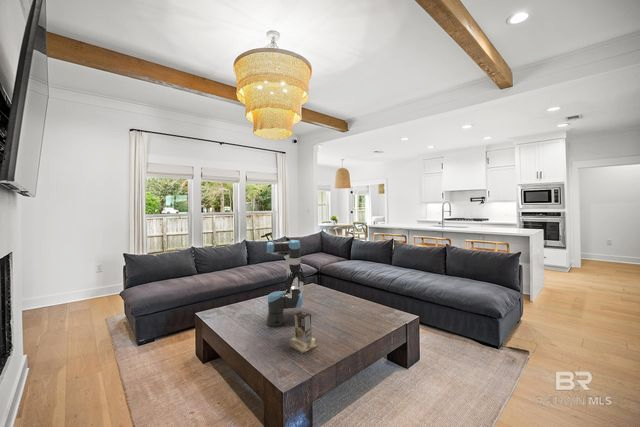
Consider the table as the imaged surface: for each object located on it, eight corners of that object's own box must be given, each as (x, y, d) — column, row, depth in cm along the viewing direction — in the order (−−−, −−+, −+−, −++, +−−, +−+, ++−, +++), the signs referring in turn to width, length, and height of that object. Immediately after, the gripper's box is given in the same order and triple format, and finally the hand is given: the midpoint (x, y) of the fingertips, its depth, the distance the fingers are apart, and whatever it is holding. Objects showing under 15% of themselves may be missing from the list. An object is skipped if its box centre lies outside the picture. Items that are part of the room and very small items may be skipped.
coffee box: (312, 338, 182) (311, 314, 181) (305, 342, 177) (304, 317, 176) (301, 334, 188) (300, 310, 187) (295, 338, 183) (294, 314, 182)
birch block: (304, 339, 191) (304, 332, 190) (316, 346, 182) (316, 338, 181) (290, 346, 182) (290, 339, 182) (302, 353, 174) (302, 345, 173)
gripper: (288, 269, 176) (289, 301, 178) (309, 259, 198) (310, 289, 200) (278, 267, 180) (279, 299, 182) (300, 258, 202) (301, 287, 204)
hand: (295, 294), depth 191 cm, fingers open, 13 cm apart
